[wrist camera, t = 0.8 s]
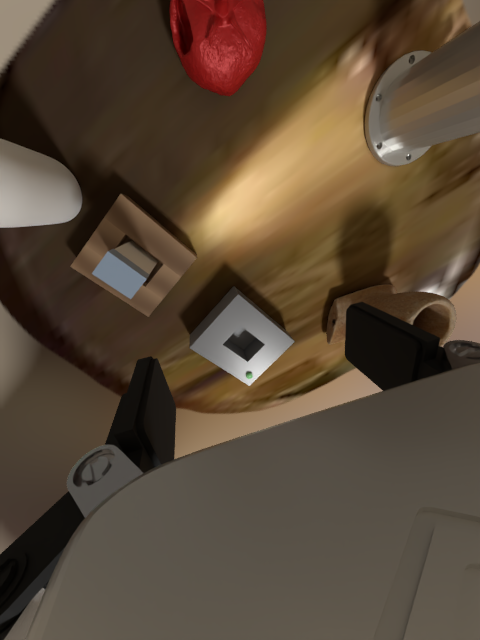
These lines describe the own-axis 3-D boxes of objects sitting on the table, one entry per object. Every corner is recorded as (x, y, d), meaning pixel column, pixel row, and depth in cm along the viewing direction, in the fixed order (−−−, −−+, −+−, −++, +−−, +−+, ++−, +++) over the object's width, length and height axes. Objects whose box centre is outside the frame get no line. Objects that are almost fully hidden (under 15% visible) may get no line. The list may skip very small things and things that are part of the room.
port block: (233, 285, 40) (238, 294, 36) (285, 330, 46) (295, 342, 41) (189, 334, 42) (189, 349, 38) (244, 371, 48) (249, 387, 44)
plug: (131, 240, 34) (107, 251, 24) (158, 261, 36) (146, 279, 26) (119, 256, 34) (91, 273, 25) (146, 276, 36) (130, 299, 27)
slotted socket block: (126, 195, 32) (120, 193, 29) (196, 254, 37) (196, 257, 34) (79, 262, 34) (70, 266, 32) (151, 309, 39) (148, 316, 37)
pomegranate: (269, 30, 28) (305, -46, 20) (234, 122, 31) (251, 90, 23) (191, -42, 24) (194, -172, 16) (159, 69, 27) (148, 8, 19)
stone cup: (395, 267, 45) (482, 291, 31) (389, 322, 50) (461, 362, 36) (320, 286, 43) (378, 320, 30) (322, 340, 49) (372, 389, 35)
